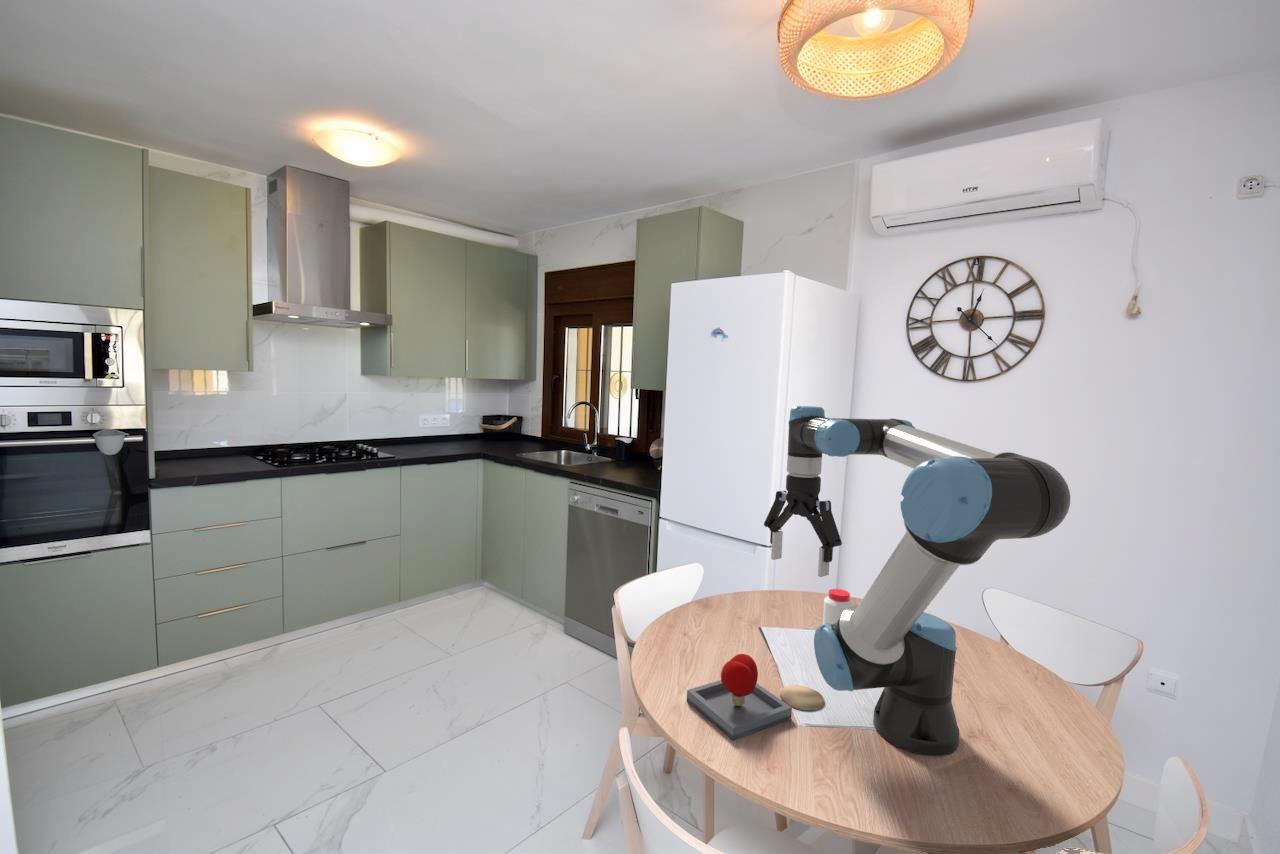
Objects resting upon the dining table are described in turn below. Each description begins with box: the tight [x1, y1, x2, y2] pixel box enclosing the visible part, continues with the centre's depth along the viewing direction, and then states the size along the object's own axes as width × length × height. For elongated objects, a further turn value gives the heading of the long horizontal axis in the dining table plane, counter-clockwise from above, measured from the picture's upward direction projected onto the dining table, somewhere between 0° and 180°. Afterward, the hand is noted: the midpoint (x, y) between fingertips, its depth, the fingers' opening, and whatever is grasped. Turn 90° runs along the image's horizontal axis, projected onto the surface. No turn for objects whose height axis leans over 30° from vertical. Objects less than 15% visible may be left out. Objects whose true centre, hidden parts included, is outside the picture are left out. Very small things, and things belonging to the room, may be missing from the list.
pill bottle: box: [821, 588, 855, 625], centre depth 158 cm, size 8×8×11 cm
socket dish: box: [686, 679, 793, 741], centre depth 119 cm, size 15×15×2 cm
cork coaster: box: [779, 684, 825, 711], centre depth 124 cm, size 9×9×1 cm
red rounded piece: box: [720, 653, 759, 707], centre depth 118 cm, size 9×7×10 cm
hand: (798, 566), depth 132 cm, fingers open, 13 cm apart
